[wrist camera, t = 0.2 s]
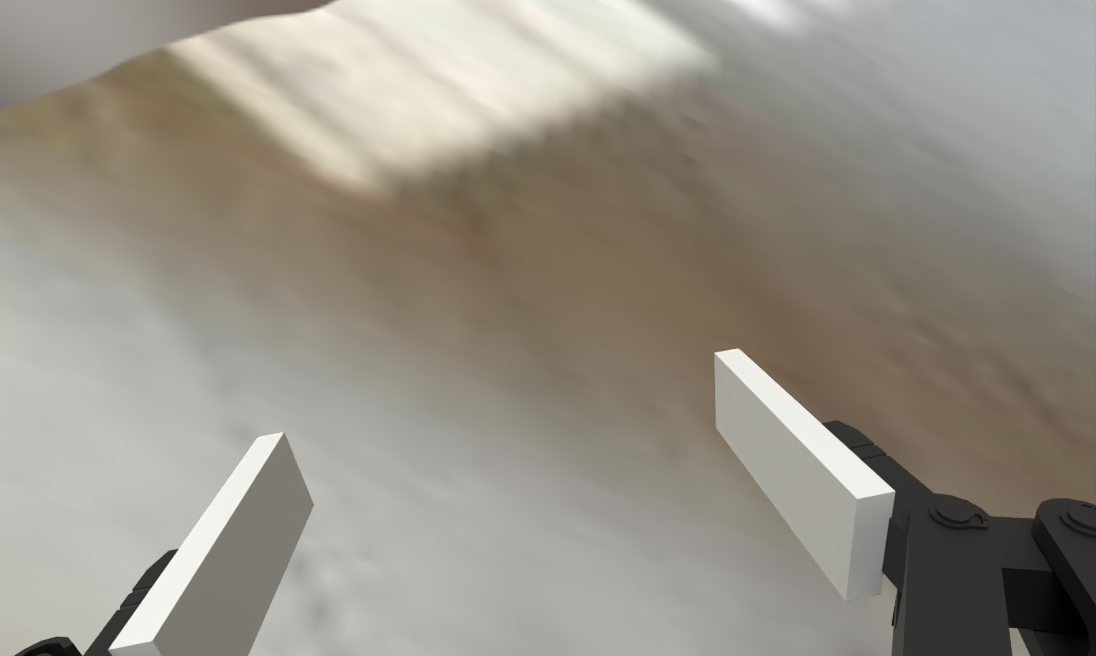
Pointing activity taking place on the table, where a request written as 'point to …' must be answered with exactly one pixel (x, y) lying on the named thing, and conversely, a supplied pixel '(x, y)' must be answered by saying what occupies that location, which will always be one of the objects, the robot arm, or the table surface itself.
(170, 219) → the table surface
